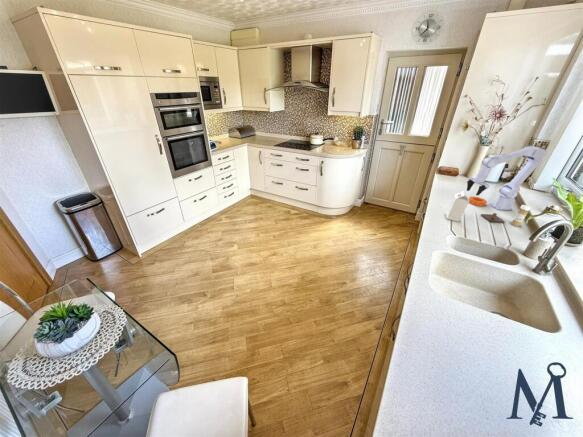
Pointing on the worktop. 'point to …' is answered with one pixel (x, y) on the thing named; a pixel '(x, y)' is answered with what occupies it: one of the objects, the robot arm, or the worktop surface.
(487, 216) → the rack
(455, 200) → the milk carton
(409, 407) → the worktop surface
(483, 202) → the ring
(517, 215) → the sprinkles bottle
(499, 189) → the robot arm
